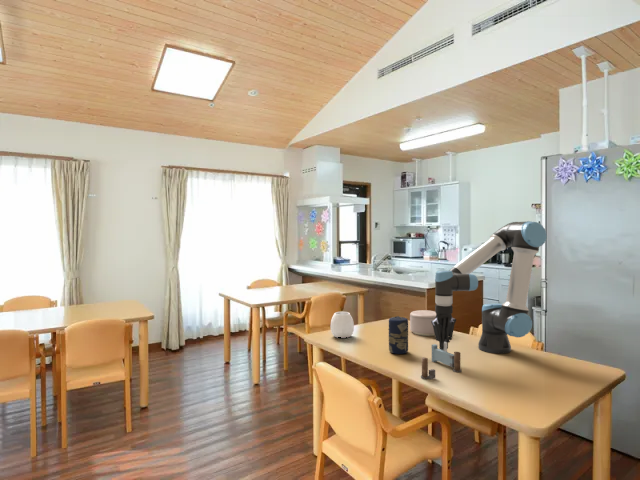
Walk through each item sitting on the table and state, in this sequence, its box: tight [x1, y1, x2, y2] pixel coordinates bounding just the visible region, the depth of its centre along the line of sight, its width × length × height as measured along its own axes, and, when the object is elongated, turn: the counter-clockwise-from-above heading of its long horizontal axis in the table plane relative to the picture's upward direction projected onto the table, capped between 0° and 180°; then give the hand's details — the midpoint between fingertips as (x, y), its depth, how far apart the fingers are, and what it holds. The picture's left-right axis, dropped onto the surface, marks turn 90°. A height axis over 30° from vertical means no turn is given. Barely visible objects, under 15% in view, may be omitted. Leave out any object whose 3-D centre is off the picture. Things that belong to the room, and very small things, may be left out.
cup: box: [330, 311, 355, 339], centre depth 233 cm, size 13×13×14 cm
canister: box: [387, 315, 409, 355], centre depth 202 cm, size 10×10×18 cm
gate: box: [431, 343, 454, 368], centre depth 182 cm, size 13×2×8 cm, turn 25°
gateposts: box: [420, 351, 462, 380], centre depth 170 cm, size 21×4×8 cm, turn 115°
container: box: [409, 309, 436, 337], centre depth 240 cm, size 18×18×12 cm
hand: (443, 356), depth 186 cm, fingers closed
